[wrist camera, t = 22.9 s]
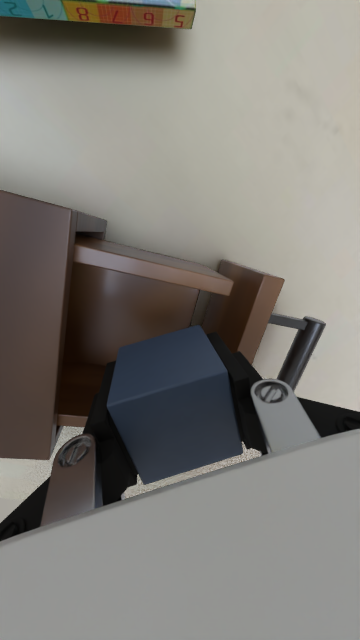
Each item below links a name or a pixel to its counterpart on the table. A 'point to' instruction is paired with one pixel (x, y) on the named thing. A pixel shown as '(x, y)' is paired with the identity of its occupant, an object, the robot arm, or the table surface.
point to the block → (173, 404)
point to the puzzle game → (106, 11)
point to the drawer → (162, 314)
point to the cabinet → (34, 318)
